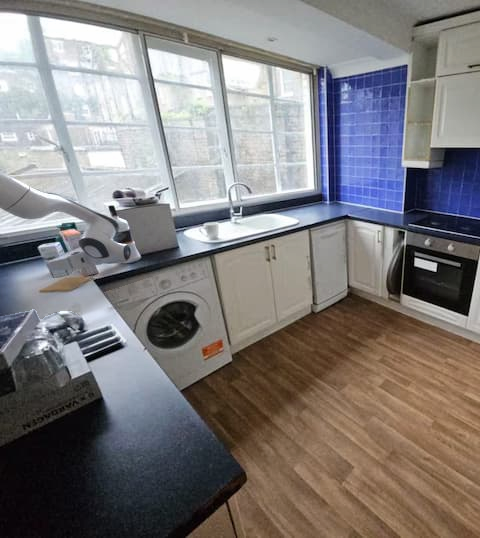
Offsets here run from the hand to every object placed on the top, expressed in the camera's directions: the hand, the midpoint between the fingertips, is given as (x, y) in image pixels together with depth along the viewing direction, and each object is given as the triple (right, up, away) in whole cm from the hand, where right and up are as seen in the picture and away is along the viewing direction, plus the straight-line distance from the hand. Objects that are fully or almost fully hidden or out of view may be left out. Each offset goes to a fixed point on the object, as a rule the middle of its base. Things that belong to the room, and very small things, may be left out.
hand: (53, 258), depth 127 cm
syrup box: (+1, -7, +3) cm, 8 cm away
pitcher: (-15, -2, +28) cm, 32 cm away
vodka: (+9, 0, +32) cm, 33 cm away
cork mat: (+1, -12, +5) cm, 13 cm away
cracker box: (-2, -6, +19) cm, 20 cm away
